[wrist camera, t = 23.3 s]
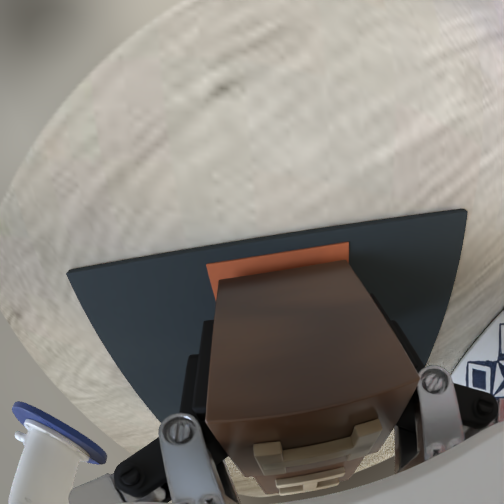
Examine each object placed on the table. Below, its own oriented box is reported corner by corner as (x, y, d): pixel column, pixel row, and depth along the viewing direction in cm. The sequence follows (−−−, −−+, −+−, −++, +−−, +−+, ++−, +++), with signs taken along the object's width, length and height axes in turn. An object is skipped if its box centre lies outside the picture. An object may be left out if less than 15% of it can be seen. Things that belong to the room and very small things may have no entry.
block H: (259, 417, 16) (265, 499, 10) (247, 378, 14) (252, 484, 8) (330, 405, 16) (351, 484, 10) (335, 362, 14) (368, 462, 8)
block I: (240, 363, 13) (244, 486, 7) (218, 278, 10) (203, 437, 5) (340, 346, 12) (381, 459, 7) (345, 258, 10) (429, 390, 4)
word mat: (164, 422, 17) (163, 427, 17) (69, 269, 11) (64, 274, 11) (415, 380, 17) (417, 384, 16) (463, 208, 11) (469, 211, 10)
